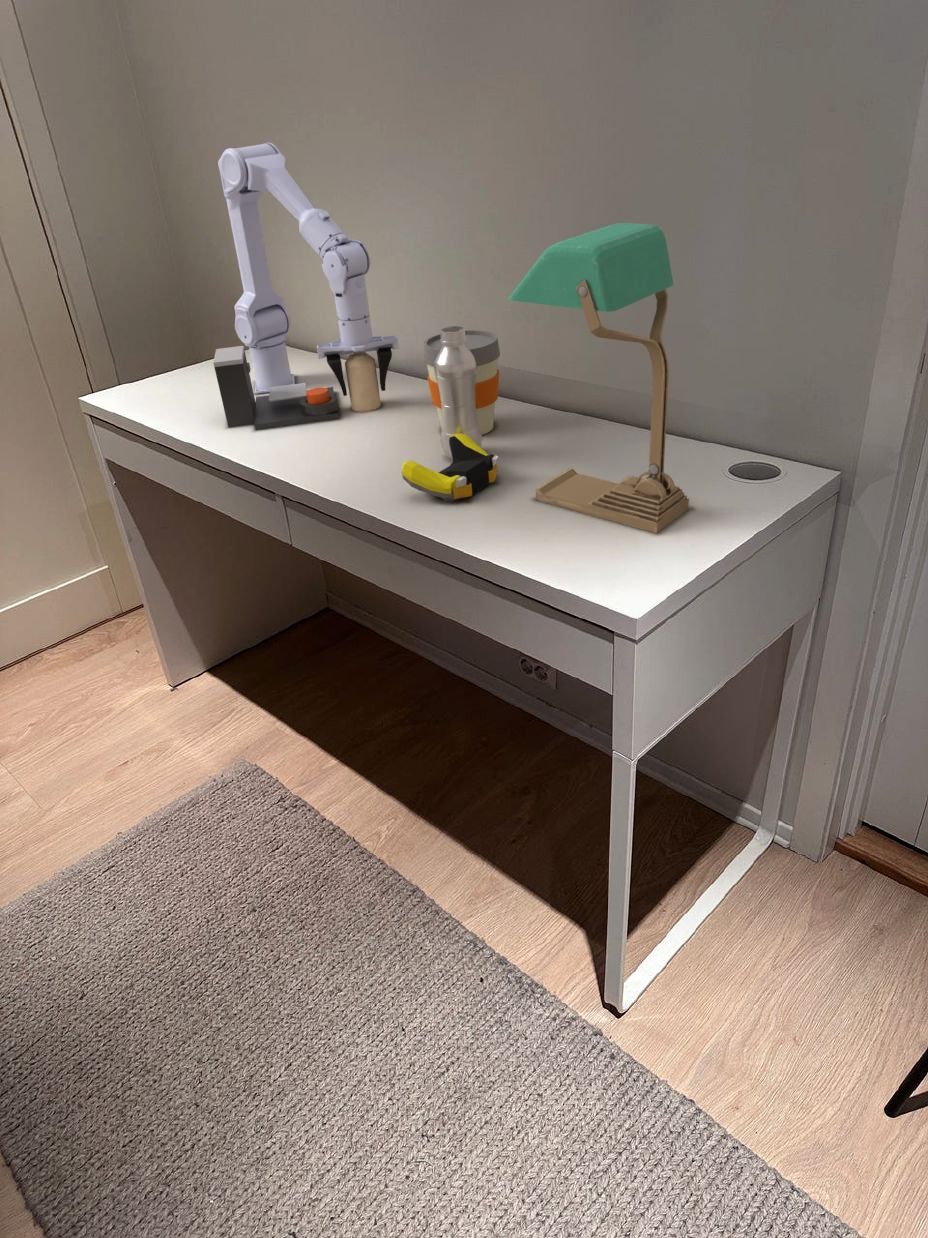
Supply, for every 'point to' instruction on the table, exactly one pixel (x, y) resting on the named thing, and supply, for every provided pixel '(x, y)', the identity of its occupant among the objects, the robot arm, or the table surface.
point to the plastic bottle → (456, 387)
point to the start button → (317, 395)
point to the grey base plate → (293, 411)
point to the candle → (362, 382)
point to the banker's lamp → (607, 281)
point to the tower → (244, 387)
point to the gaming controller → (454, 471)
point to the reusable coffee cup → (486, 373)
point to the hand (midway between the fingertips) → (364, 391)
